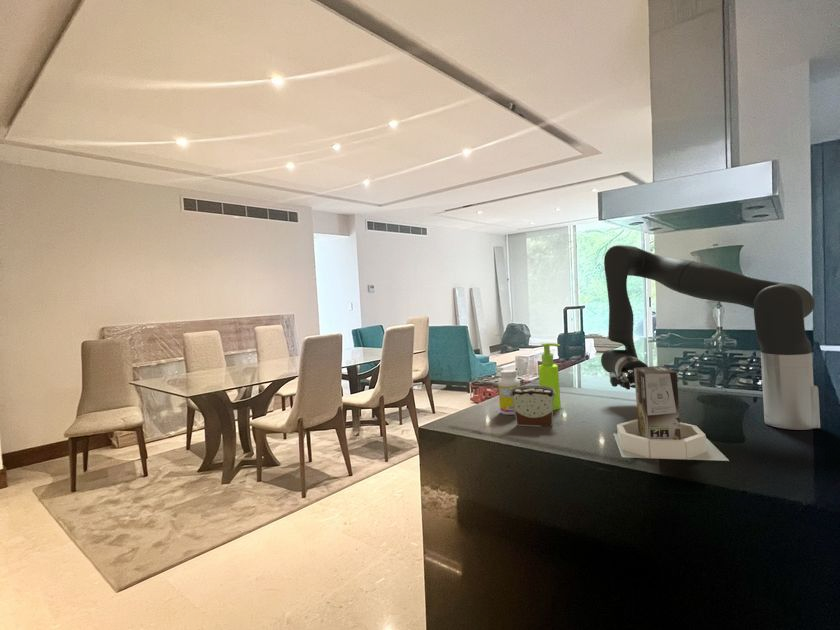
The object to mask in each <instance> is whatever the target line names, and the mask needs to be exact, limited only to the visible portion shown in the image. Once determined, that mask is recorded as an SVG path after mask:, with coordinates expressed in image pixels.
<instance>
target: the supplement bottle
mask: <svg viewBox="0 0 840 630" xmlns="http://www.w3.org/2000/svg"><path fill="white" fill-rule="evenodd" d="M500 376H501V378H500V379H499V380H498V382H497V386H498V398H499V409H500V410H499V411H500V413H501V414H503V415H508V416H511V415H513V416H515V411H514V405H513V400H512V396H510V391H511V389H512V388H515V387H519V386H521V380H520V379H519V378H517V370H515V369H504V370H501V371H500Z"/></svg>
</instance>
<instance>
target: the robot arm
mask: <svg viewBox="0 0 840 630" xmlns="http://www.w3.org/2000/svg"><path fill="white" fill-rule="evenodd" d="M603 260H604V261H603V266H604V274H605V275H604V276H605V282H606V289H607V291H606V292H607V299H608V335H607V336H608V339H609V340H610V341H611V342H613V343H618V344H622V345H623V346H624V349H613V348H612V349H611V348H610V349H607V350H605V351H603V352H602V354H601V357H600V363H601V366H602V368H603V369H604V370H605V371H606V372H608V374H609V383H610V385H611V386H612V387H614V388H615V387H618V386H620V387H622V388H624V389H626V390H631V388H632V389H635V374H634V368H641V367H649V366H648V365H647V364H646V363H645V362H643V361H642V360H641V359H639V357H638V354H637V350H636V346H635V343H634V321H635V319H634V312H633V308H632V305H631V301H630V298H629V294H628V293H629V292H628V288H627V287H628V286H627V285H628V284H627V283H628V282H627V281H628V276H630V277H639V278H644V279H649V280H653V281H655V282H658V283H659V284H660V285H663V286H664V287H666V288H668V289H670V290H672V291H675V292H676V293H680V294H683V295H685V296H690V297H693V298H697V299H701V300H706V301H711V302H712V301H713V302H720V303H725V304H726V303H727V304H734V305H740V306H744V307H747V308H750V309H753V317H754V327H755V335H756V340H757V342H758V344H759V346H760V363H761V381H762V385H761V386H762V399H763V401H762V403H763V416H764V423H765V425H768V426H771V427H774V428H779V429H785V430H795V431H796V430H797V431H799V430H800V431H801V430H802V431H805V430H813V429H821V419H820V417H821V416H820V398H819V396H820V395H819V386H817V385H814V376H813V375H814V372H813V356H812V343H811V340H810V339H809V338H808V336H807V333H806V328H805V318H806V317H808V316H810V314H812V312H813V311H814V308H815V299H814V296H813V295H812V294H811V293H810V291H808V290H807V289H806V288H805V287H803V286H801V285H799V284H793V283H785V282H778V281H770V280H765V279H758V278H756V277H755V278H754V277H751V276H746V275H743V274H741V273H737V272H734V271H731V270H728V269H725V268H721V267H717V266H714V265H711V264H708V263H703V262H698V261H695V260H690V259H684V258H679V257H678V258H677V257H676V258H675V257H669V256H668V257H665V256H662V255H658V254H656V253H652V252H650V251H647V250H644V249H642V248H639V247H637V246H632V245H626V244H625V245H624V244H616V245H613V246H611V247H609V248H608V249H607V251H606V252H605V255H604V259H603Z"/></svg>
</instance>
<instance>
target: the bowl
mask: <svg viewBox="0 0 840 630" xmlns="http://www.w3.org/2000/svg"><path fill="white" fill-rule="evenodd" d="M616 430H617V434H618V441H619V444H620V447H621V449H622V450H625V451H628V452H632V453H635V454H638V455H642V456H645V457H648V458H647V459H657V458H664V459H663V460H665V459H666V460H687V459H689V458H692V457H694V456H697V455H700V454H702V453H705V452H707V451H706V438H707V436H706V433H704V432H703V431H702V430H701V429H700V428H699V427H698V426H697V425H694V424H690V423H685V422H681V421H680V435H681V440H668V439H648V438H644V437H640V436H639V430H638V418H636V419H631V420H629V421H625V422H622V423H618V424H616ZM650 457H651V458H650Z"/></svg>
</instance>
